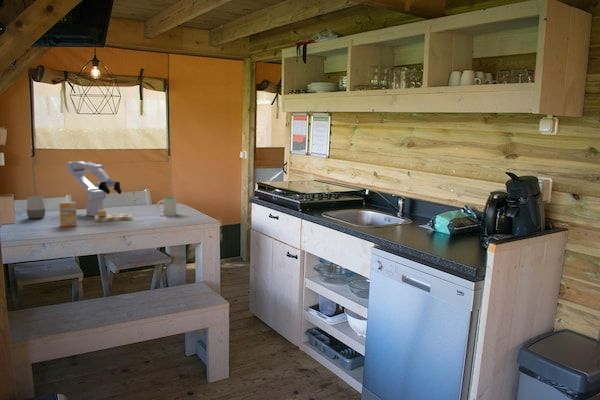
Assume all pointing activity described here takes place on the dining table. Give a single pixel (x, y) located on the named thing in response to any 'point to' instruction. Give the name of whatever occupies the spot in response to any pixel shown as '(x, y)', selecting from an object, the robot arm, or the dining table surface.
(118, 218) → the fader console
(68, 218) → the supplement box
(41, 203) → the smart speaker
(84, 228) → the dining table surface
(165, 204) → the mug
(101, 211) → the fader tab
